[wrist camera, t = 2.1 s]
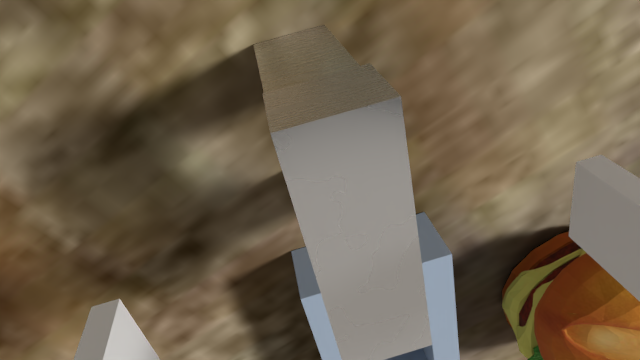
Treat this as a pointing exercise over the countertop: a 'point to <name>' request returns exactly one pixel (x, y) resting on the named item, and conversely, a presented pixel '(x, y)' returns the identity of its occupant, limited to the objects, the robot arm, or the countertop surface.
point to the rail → (439, 296)
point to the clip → (348, 190)
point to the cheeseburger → (570, 306)
